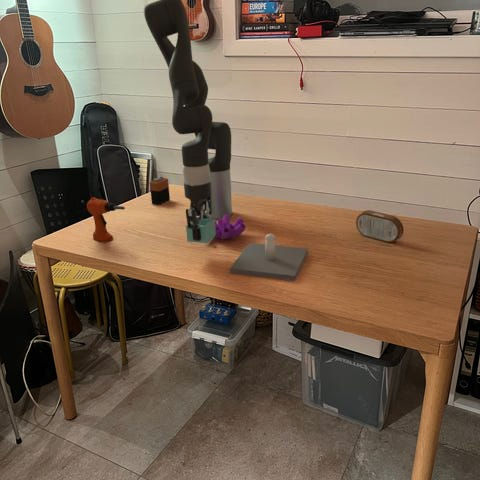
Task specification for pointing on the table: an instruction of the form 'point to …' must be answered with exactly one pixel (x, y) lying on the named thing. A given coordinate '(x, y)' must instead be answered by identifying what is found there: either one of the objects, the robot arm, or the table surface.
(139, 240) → the table surface
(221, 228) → the purple coral
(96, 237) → the toy drill
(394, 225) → the tin
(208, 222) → the collar
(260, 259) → the post plate
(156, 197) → the battery
